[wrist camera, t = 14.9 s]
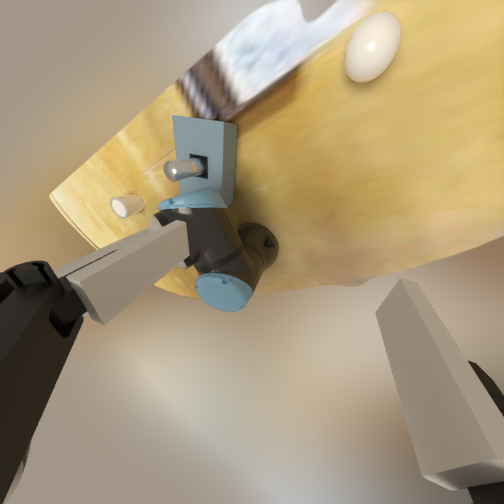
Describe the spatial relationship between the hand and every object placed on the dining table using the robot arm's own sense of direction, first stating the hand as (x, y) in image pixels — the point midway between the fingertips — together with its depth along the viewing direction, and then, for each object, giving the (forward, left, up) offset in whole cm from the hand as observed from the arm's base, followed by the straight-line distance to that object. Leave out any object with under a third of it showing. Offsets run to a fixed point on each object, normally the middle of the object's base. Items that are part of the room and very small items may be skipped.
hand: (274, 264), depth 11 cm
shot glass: (-18, +55, -37) cm, 69 cm away
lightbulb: (+18, -3, -37) cm, 41 cm away
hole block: (-1, +25, -37) cm, 44 cm away
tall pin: (-1, +25, -37) cm, 44 cm away
